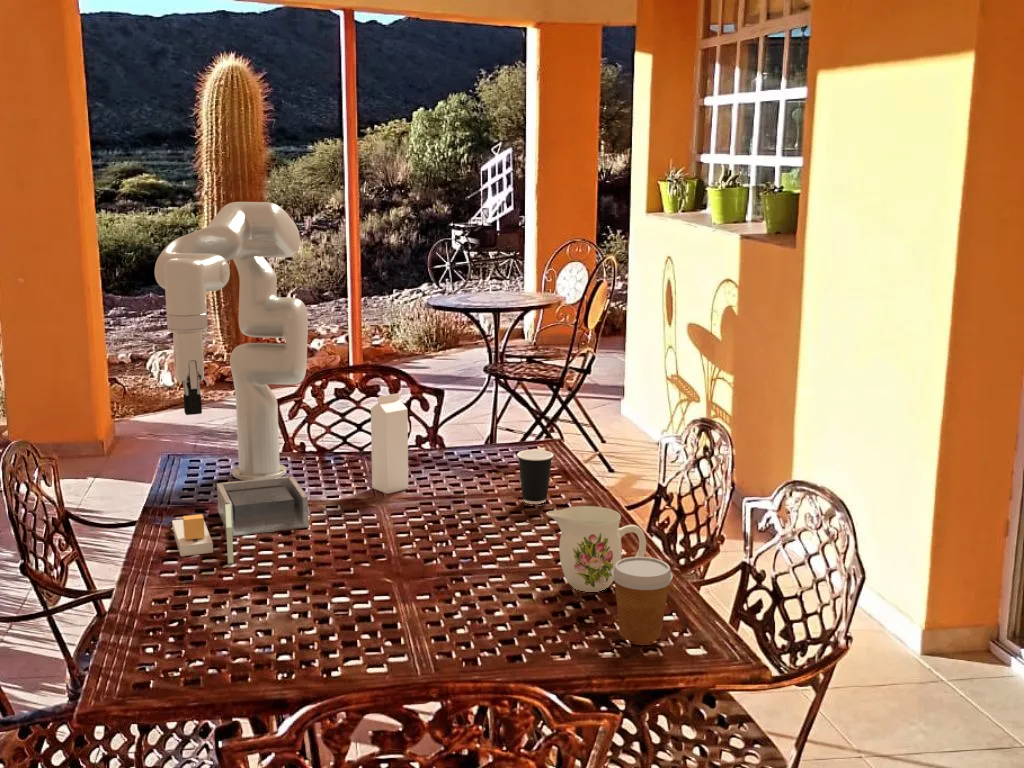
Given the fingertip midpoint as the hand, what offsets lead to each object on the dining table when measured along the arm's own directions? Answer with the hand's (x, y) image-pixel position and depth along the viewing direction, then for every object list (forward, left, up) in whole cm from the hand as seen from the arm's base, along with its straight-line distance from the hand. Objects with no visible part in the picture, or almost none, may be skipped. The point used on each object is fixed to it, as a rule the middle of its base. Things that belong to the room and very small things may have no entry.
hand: (193, 413), depth 215 cm
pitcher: (+55, +62, -25) cm, 87 cm away
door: (+14, +4, -24) cm, 28 cm away
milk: (-14, +44, -25) cm, 52 cm away
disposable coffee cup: (+77, +59, -25) cm, 100 cm away
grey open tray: (-2, +13, -24) cm, 28 cm away
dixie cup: (+7, +71, -25) cm, 75 cm away
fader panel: (+6, -2, -24) cm, 25 cm away
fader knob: (+11, -2, -22) cm, 24 cm away
